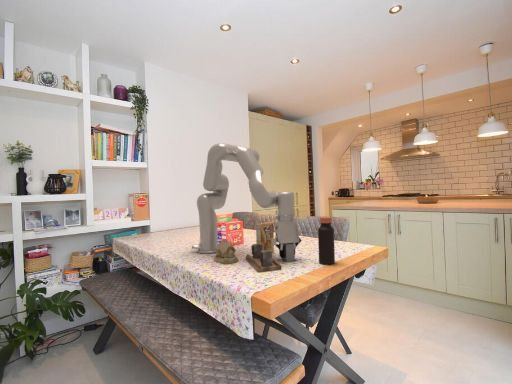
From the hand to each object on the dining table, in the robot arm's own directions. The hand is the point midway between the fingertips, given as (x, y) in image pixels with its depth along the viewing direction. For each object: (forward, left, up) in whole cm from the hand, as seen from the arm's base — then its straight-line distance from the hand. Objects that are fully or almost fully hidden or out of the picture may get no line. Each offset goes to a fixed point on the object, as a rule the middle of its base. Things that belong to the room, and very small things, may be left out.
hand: (287, 257), depth 126 cm
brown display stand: (-13, -2, -1) cm, 13 cm away
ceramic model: (-26, +11, -2) cm, 29 cm away
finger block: (0, 0, -1) cm, 1 cm away
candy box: (-5, +17, -2) cm, 18 cm away
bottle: (+14, -11, -2) cm, 18 cm away
